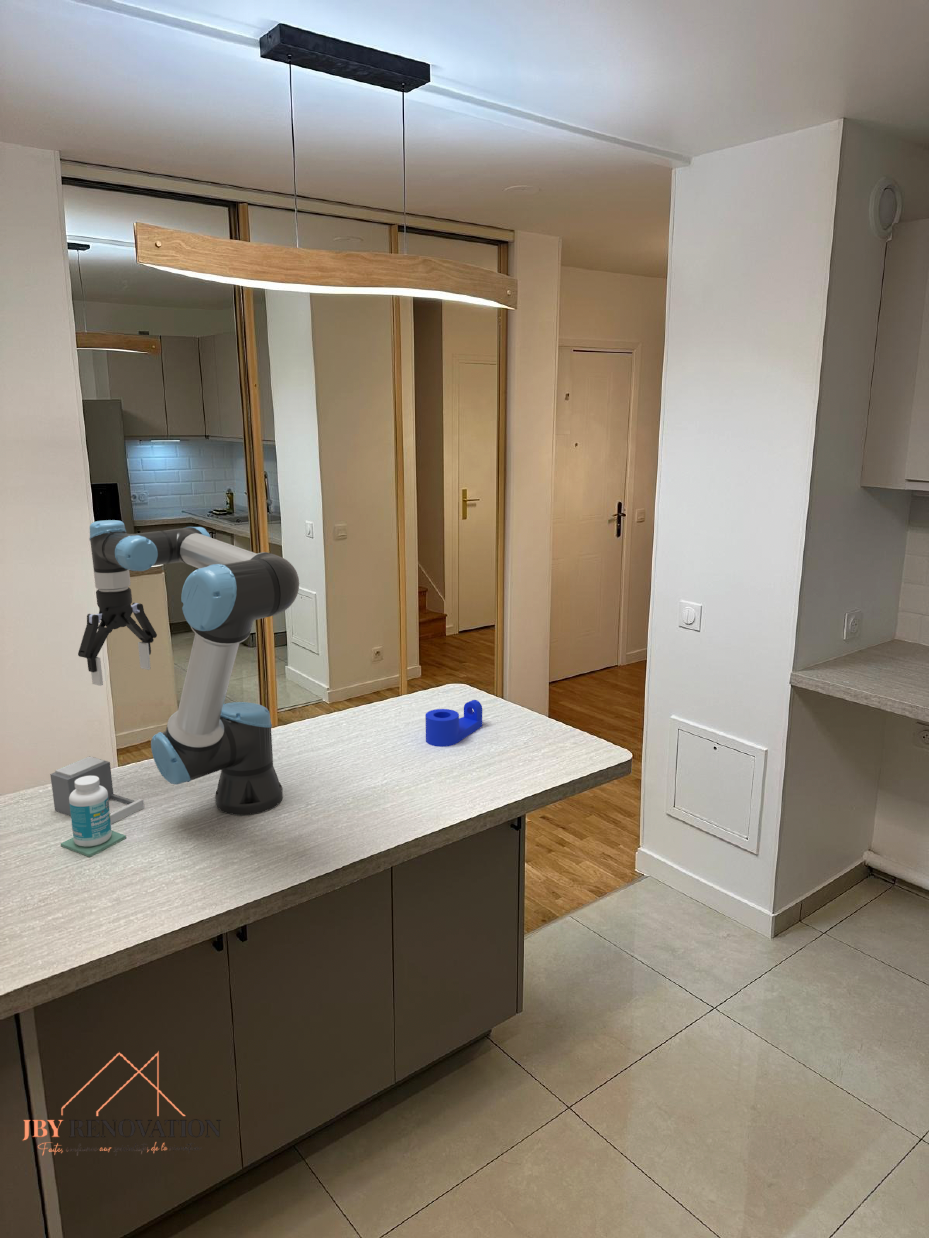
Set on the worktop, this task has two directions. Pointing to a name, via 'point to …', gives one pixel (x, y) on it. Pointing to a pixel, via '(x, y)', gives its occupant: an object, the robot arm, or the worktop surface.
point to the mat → (93, 849)
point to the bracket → (452, 724)
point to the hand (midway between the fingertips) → (122, 676)
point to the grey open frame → (97, 767)
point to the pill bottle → (90, 812)
